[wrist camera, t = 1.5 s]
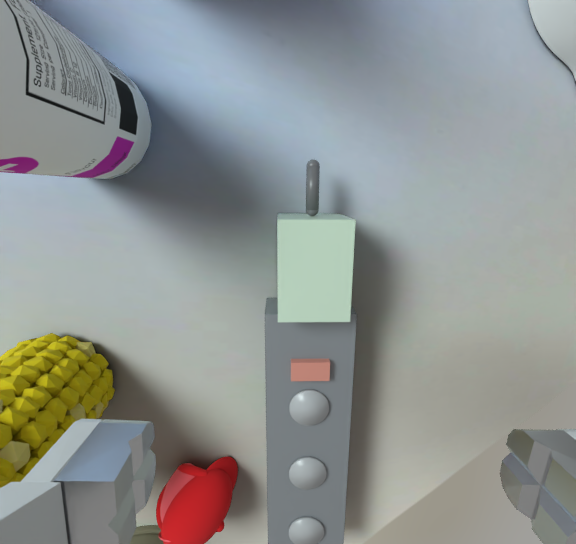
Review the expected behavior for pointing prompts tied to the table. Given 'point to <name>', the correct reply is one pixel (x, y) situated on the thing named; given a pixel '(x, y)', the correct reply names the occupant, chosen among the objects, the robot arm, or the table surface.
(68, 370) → the food
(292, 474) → the power strip
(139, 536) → the can
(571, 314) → the table surface
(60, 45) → the supplement can
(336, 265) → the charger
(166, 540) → the red lobed rounded piece
